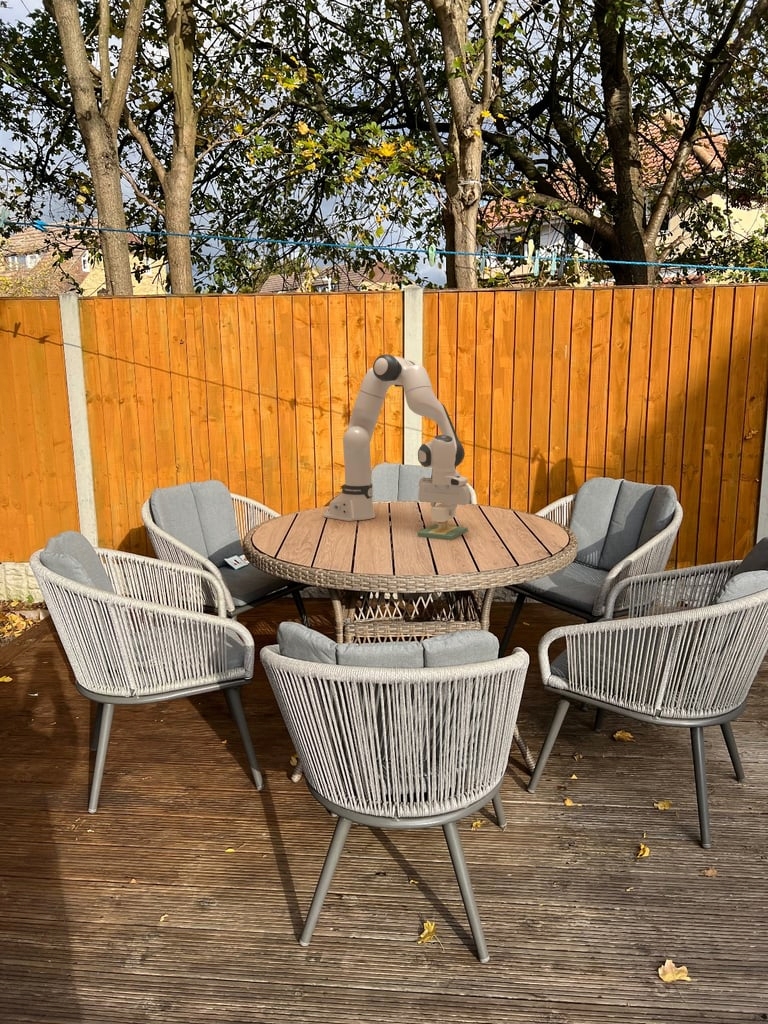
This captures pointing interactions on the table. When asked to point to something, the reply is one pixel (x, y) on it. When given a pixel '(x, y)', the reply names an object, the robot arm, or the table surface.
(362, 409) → the robot arm
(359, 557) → the table surface
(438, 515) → the housing
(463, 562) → the table surface
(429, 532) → the header board
